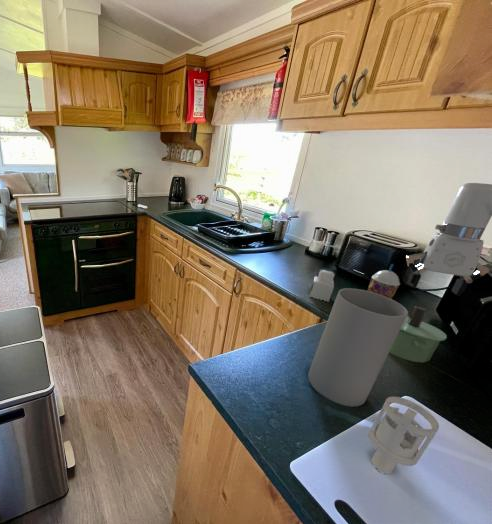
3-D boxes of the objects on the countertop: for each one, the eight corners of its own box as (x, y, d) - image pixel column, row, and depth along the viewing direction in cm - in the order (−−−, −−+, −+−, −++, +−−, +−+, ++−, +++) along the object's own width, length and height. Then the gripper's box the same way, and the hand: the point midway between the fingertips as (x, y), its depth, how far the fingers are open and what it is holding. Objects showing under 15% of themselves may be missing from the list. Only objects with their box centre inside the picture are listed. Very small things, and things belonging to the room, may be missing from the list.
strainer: (352, 460, 55) (382, 402, 50) (366, 441, 59) (395, 386, 54) (397, 494, 50) (436, 434, 45) (409, 472, 54) (447, 414, 48)
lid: (426, 324, 91) (436, 305, 89) (457, 348, 77) (469, 326, 75) (373, 311, 95) (381, 293, 93) (394, 333, 81) (403, 312, 79)
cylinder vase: (296, 372, 77) (325, 289, 68) (334, 367, 80) (366, 287, 71) (335, 412, 66) (376, 319, 56) (377, 404, 69) (423, 314, 59)
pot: (414, 338, 96) (426, 317, 93) (442, 375, 80) (456, 351, 77) (366, 326, 101) (375, 305, 98) (382, 359, 85) (394, 335, 82)
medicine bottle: (309, 290, 125) (317, 265, 121) (328, 295, 122) (337, 269, 118) (308, 297, 119) (317, 270, 115) (328, 302, 116) (338, 275, 112)
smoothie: (356, 310, 112) (376, 263, 104) (361, 303, 117) (380, 258, 110) (383, 320, 106) (406, 270, 99) (386, 312, 112) (408, 265, 104)
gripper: (425, 229, 76) (400, 287, 82) (516, 240, 70) (481, 302, 76) (414, 223, 82) (391, 278, 89) (496, 233, 76) (466, 291, 82)
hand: (433, 289), depth 82 cm, fingers open, 9 cm apart
